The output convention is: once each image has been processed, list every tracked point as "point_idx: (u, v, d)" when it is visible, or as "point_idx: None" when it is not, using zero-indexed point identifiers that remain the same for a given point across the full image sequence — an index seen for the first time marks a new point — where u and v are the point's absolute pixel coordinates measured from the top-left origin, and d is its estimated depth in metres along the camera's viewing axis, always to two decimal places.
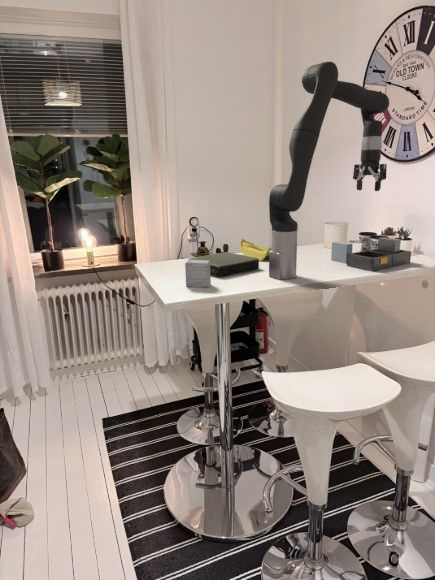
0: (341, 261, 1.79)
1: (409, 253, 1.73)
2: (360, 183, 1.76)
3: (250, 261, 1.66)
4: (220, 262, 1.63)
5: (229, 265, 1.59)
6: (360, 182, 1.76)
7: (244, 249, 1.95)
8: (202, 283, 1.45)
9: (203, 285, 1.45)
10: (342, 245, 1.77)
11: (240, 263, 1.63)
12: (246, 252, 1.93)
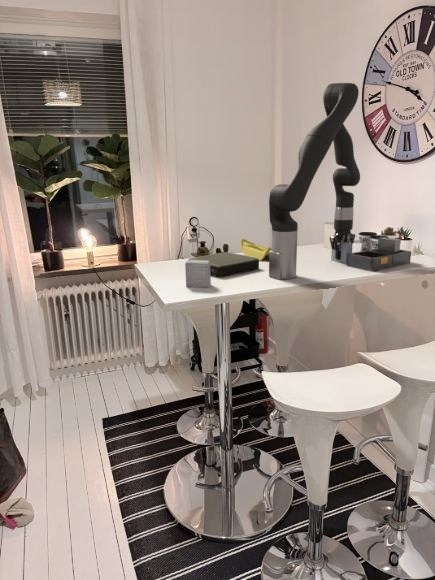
0: (341, 261, 1.79)
1: (409, 253, 1.73)
2: None
3: (250, 261, 1.66)
4: (220, 262, 1.63)
5: (229, 265, 1.59)
6: None
7: (244, 249, 1.96)
8: (202, 283, 1.45)
9: (203, 285, 1.45)
10: (342, 245, 1.77)
11: (240, 263, 1.63)
12: (246, 252, 1.94)
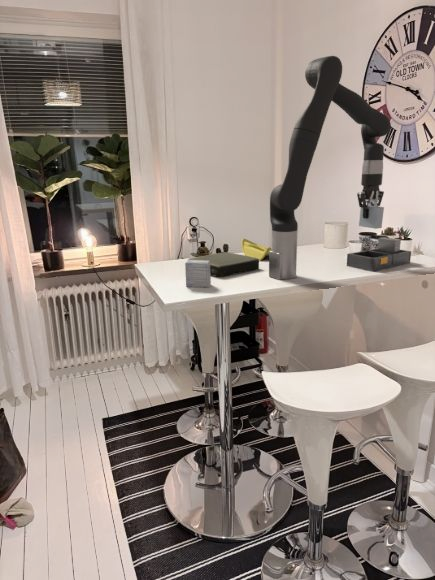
0: (371, 226, 1.65)
1: (409, 253, 1.73)
2: None
3: (250, 261, 1.66)
4: (220, 262, 1.63)
5: (229, 265, 1.59)
6: None
7: (245, 248, 1.96)
8: (202, 283, 1.45)
9: (203, 285, 1.45)
10: (373, 208, 1.63)
11: (240, 263, 1.63)
12: (247, 251, 1.94)
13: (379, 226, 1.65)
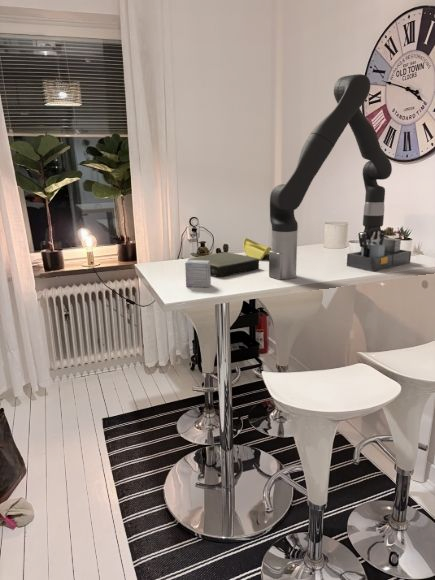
0: None
1: (409, 253, 1.73)
2: None
3: (250, 261, 1.66)
4: (220, 262, 1.63)
5: (229, 265, 1.59)
6: None
7: (246, 248, 1.97)
8: (202, 283, 1.45)
9: (203, 285, 1.45)
10: (374, 247, 1.66)
11: (240, 263, 1.63)
12: (248, 251, 1.96)
13: None
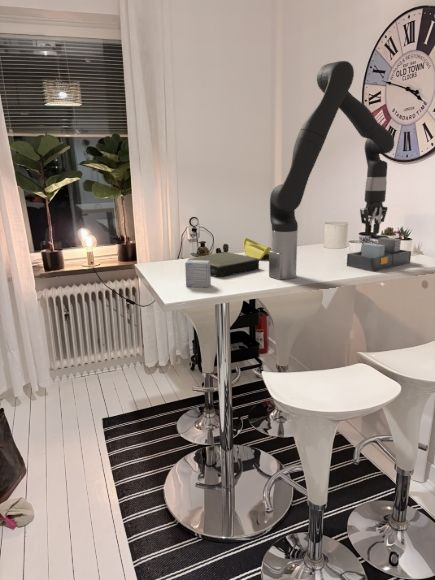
0: None
1: (409, 253, 1.73)
2: None
3: (250, 261, 1.66)
4: (220, 262, 1.63)
5: (229, 265, 1.59)
6: None
7: (246, 248, 1.98)
8: (202, 283, 1.45)
9: (203, 285, 1.45)
10: (374, 247, 1.66)
11: (240, 263, 1.63)
12: (247, 251, 1.96)
13: None
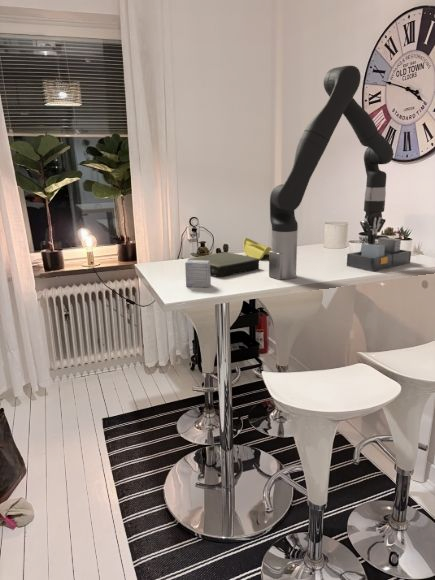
0: None
1: (409, 253, 1.73)
2: None
3: (250, 261, 1.66)
4: (220, 262, 1.63)
5: (229, 265, 1.59)
6: None
7: (246, 248, 1.98)
8: (202, 283, 1.45)
9: (203, 285, 1.45)
10: (374, 247, 1.66)
11: (240, 263, 1.63)
12: (247, 251, 1.96)
13: None
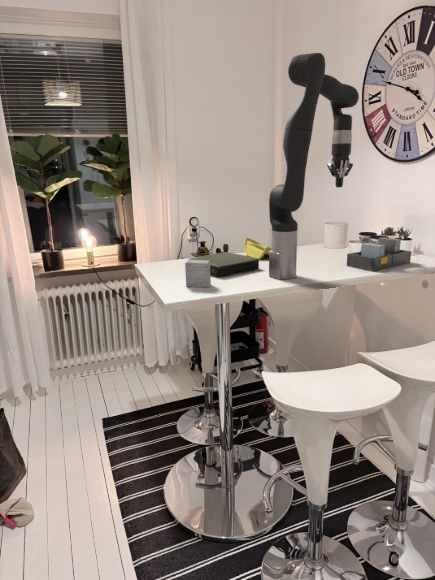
0: None
1: (409, 253, 1.73)
2: None
3: (250, 261, 1.66)
4: (220, 262, 1.63)
5: (229, 265, 1.59)
6: None
7: (247, 247, 1.98)
8: (202, 283, 1.45)
9: (203, 285, 1.45)
10: (374, 247, 1.66)
11: (240, 263, 1.63)
12: (248, 250, 1.97)
13: None
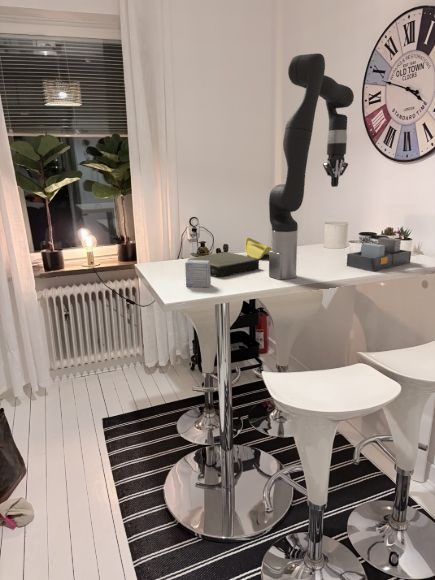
0: None
1: (409, 253, 1.73)
2: None
3: (250, 261, 1.66)
4: (220, 262, 1.63)
5: (229, 265, 1.59)
6: None
7: (248, 247, 1.99)
8: (202, 283, 1.45)
9: (203, 285, 1.45)
10: (374, 247, 1.66)
11: (240, 263, 1.63)
12: (248, 250, 1.97)
13: None
